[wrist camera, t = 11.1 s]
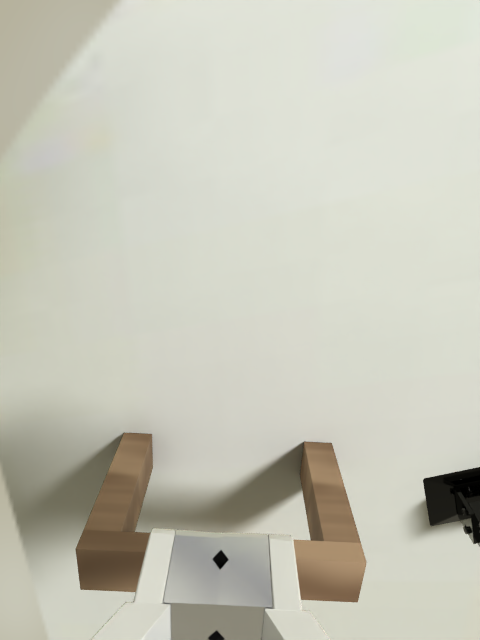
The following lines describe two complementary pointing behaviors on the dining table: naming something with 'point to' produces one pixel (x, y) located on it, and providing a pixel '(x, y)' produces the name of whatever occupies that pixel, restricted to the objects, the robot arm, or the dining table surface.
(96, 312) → the dining table surface
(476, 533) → the black stepped block
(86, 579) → the bridge
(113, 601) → the dining table surface
